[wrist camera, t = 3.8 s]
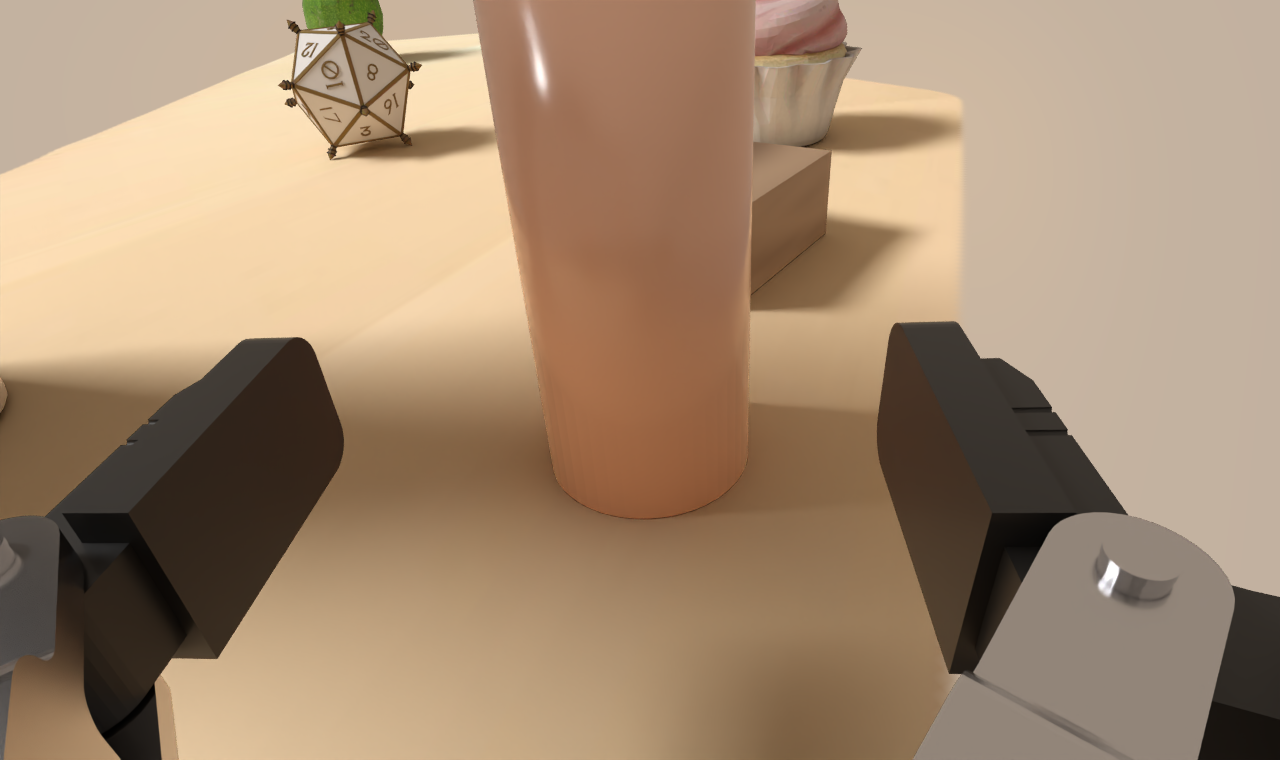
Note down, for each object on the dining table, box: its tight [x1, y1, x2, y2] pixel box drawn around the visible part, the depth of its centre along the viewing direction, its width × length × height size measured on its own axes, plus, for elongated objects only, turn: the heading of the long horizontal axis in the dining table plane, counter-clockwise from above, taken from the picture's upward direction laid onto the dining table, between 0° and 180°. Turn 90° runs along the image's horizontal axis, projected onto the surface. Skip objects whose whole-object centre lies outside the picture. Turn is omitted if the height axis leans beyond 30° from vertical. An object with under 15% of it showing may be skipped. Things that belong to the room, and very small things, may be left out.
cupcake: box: [753, 0, 862, 147], centre depth 42 cm, size 9×9×10 cm
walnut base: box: [751, 142, 832, 294], centre depth 29 cm, size 8×8×4 cm
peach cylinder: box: [473, 0, 756, 519], centre depth 16 cm, size 5×5×11 cm
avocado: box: [302, 0, 383, 35], centre depth 78 cm, size 8×8×12 cm
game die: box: [278, 10, 422, 160], centre depth 47 cm, size 9×8×10 cm
